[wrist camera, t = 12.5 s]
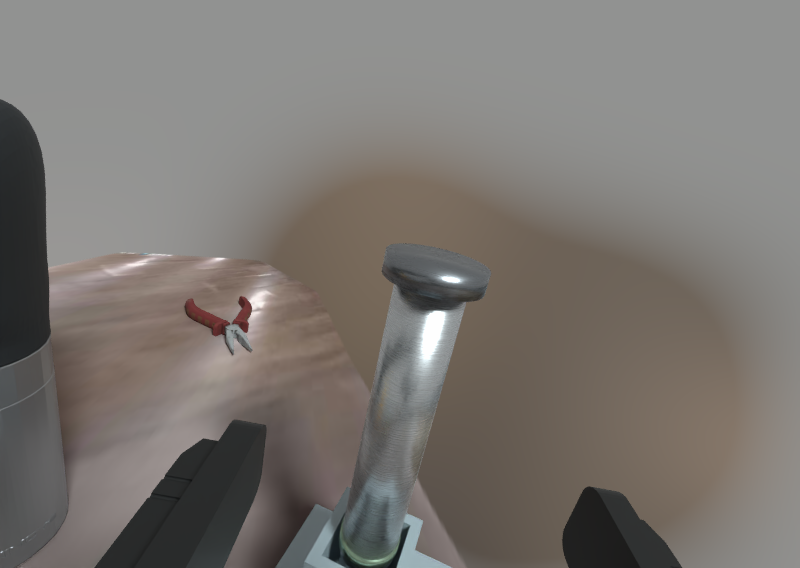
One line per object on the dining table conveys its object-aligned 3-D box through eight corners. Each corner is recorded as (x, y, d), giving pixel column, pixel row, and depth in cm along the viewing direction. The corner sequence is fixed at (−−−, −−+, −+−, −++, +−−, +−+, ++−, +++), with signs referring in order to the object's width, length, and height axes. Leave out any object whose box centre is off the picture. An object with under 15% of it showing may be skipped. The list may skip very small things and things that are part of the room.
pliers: (203, 364, 57) (203, 349, 56) (183, 308, 71) (183, 296, 71) (277, 353, 64) (279, 340, 63) (245, 305, 78) (246, 293, 78)
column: (312, 563, 24) (369, 254, 18) (348, 497, 29) (404, 238, 23) (391, 604, 23) (486, 287, 16) (415, 528, 28) (494, 263, 22)
